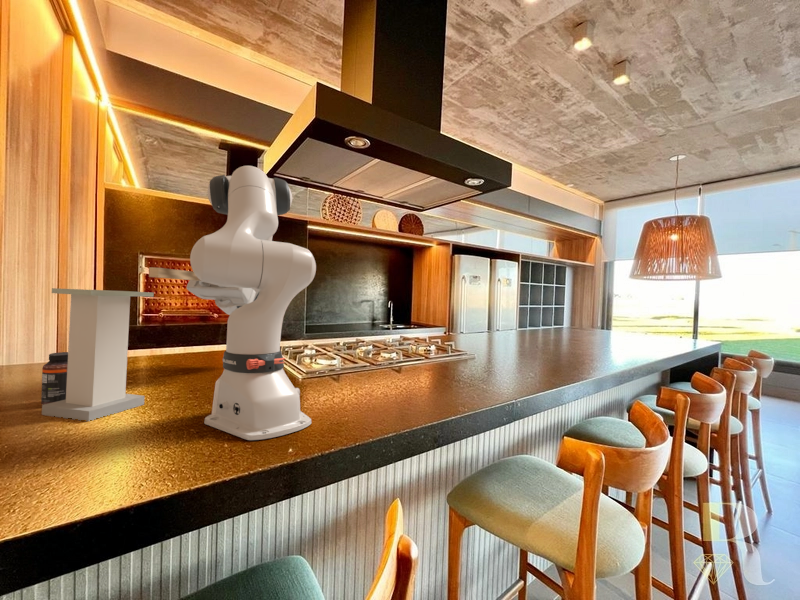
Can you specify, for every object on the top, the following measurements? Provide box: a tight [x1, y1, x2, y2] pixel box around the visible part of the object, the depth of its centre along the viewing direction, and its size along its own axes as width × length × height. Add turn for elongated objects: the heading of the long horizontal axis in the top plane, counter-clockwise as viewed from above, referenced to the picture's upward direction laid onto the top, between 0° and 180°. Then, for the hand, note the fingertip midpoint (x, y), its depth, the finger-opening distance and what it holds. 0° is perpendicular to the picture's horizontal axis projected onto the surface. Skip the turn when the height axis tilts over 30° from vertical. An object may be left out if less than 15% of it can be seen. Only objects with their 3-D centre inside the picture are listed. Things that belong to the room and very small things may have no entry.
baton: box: [148, 266, 201, 281], centre depth 99 cm, size 22×3×2 cm, turn 169°
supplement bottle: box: [40, 351, 68, 406], centre depth 79 cm, size 6×6×11 cm
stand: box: [41, 287, 155, 422], centre depth 77 cm, size 14×12×26 cm
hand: (204, 275), depth 105 cm, fingers closed on baton, 3 cm apart
